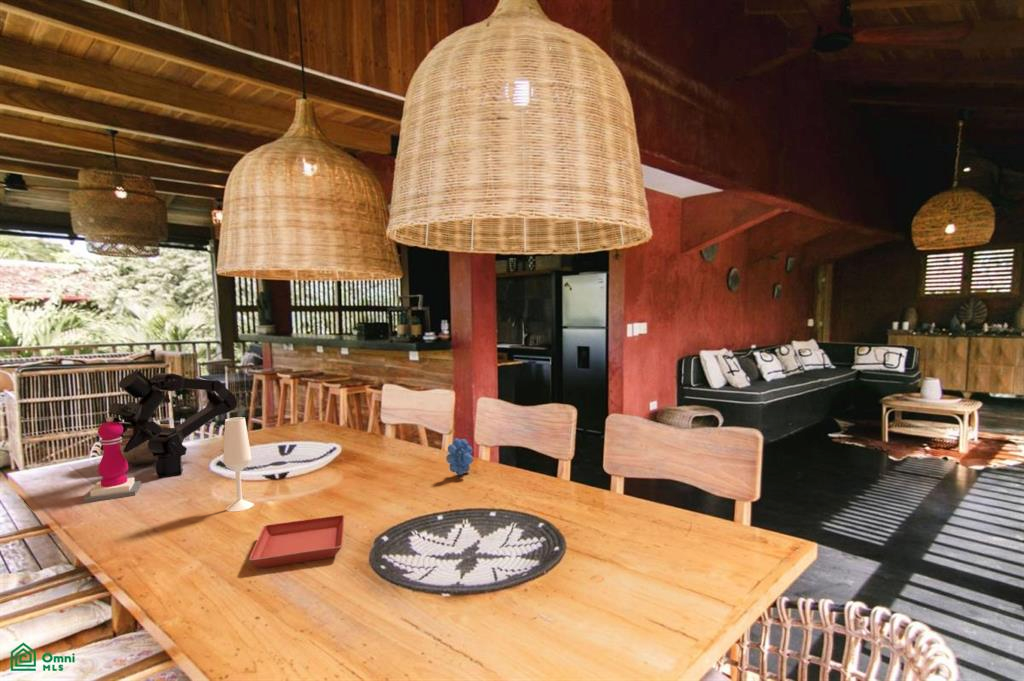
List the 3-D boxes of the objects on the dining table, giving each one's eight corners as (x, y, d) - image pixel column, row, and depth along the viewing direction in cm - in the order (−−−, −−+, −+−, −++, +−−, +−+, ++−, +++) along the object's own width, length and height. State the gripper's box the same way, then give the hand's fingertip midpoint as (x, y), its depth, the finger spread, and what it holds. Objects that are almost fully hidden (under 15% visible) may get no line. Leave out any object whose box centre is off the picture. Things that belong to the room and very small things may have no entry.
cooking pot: (96, 465, 185) (93, 431, 184) (155, 452, 201) (153, 421, 200) (129, 476, 172) (126, 439, 171) (190, 461, 188) (188, 427, 187)
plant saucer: (248, 575, 106) (247, 559, 106) (264, 538, 123) (263, 524, 123) (343, 561, 111) (342, 546, 111) (345, 527, 128) (344, 514, 128)
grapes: (458, 482, 158) (457, 443, 157) (442, 479, 162) (440, 440, 161) (482, 472, 168) (481, 435, 167) (466, 469, 172) (465, 432, 171)
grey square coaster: (141, 484, 163) (140, 475, 163) (135, 495, 153) (134, 485, 153) (92, 491, 158) (92, 482, 157) (83, 503, 148) (82, 493, 148)
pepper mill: (103, 489, 151) (98, 420, 150) (95, 484, 155) (90, 417, 154) (132, 482, 156) (128, 415, 155) (124, 477, 161) (120, 413, 160)
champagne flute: (242, 512, 138) (237, 422, 137) (219, 510, 140) (214, 421, 138) (259, 502, 145) (254, 416, 144) (237, 501, 146) (233, 416, 145)
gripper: (104, 391, 162) (68, 435, 152) (150, 392, 157) (115, 438, 147) (131, 411, 170) (98, 454, 160) (175, 413, 165) (144, 458, 155)
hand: (113, 451), depth 155 cm, fingers open, 9 cm apart
